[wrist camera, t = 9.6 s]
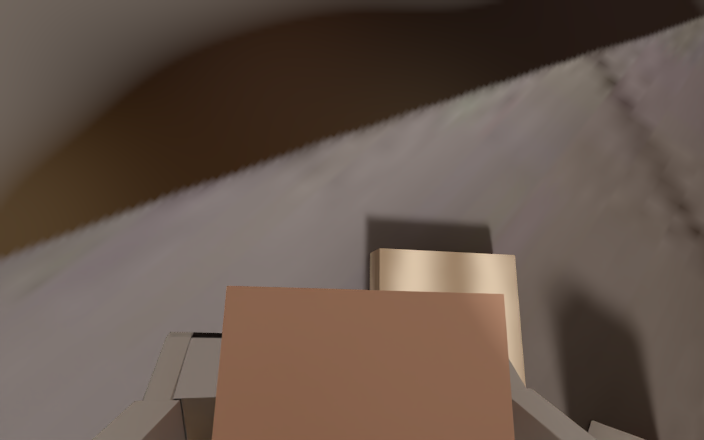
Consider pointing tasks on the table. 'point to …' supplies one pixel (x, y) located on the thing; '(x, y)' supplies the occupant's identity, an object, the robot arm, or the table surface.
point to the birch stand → (454, 281)
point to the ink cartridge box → (609, 433)
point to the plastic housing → (362, 366)
